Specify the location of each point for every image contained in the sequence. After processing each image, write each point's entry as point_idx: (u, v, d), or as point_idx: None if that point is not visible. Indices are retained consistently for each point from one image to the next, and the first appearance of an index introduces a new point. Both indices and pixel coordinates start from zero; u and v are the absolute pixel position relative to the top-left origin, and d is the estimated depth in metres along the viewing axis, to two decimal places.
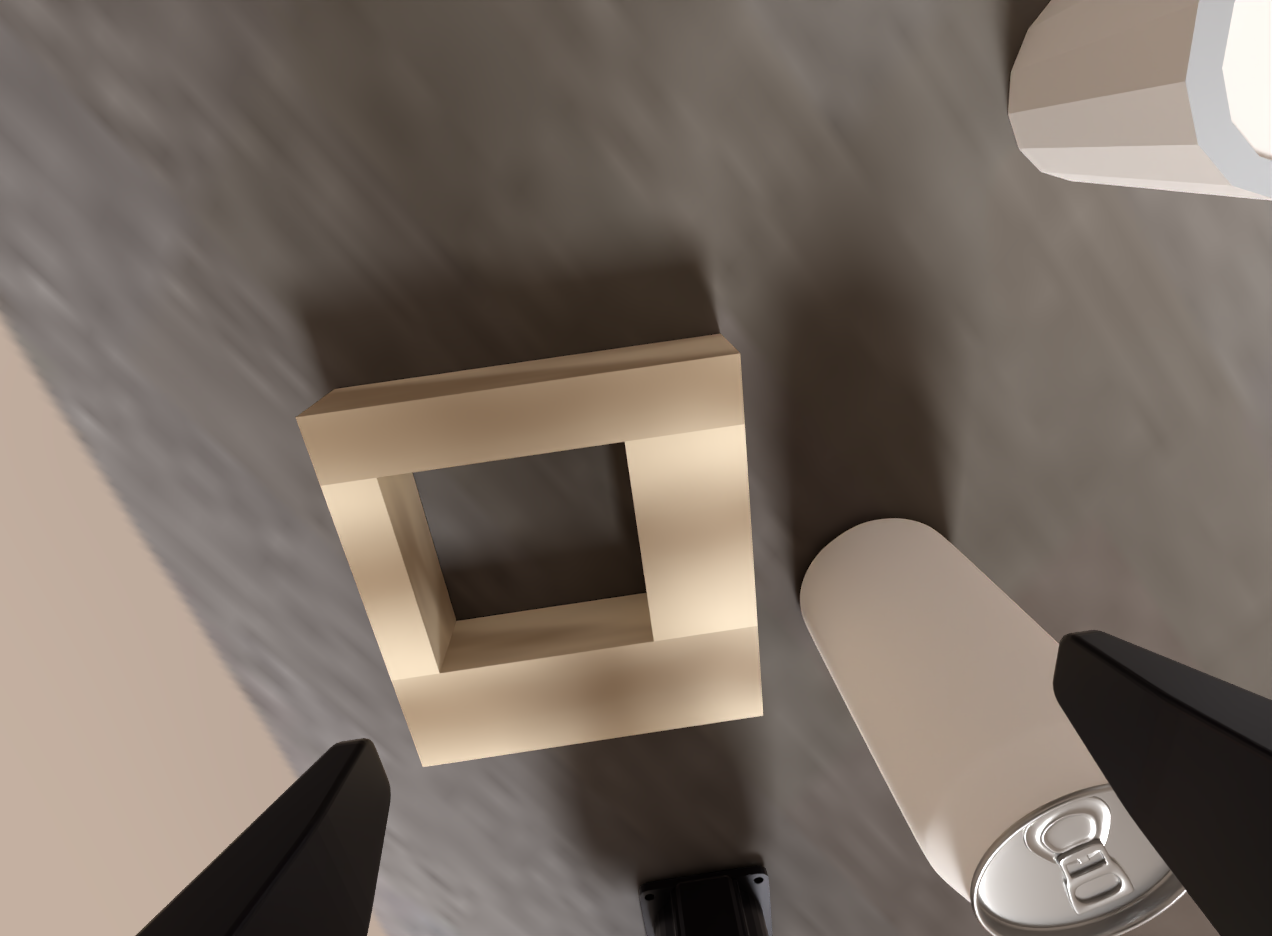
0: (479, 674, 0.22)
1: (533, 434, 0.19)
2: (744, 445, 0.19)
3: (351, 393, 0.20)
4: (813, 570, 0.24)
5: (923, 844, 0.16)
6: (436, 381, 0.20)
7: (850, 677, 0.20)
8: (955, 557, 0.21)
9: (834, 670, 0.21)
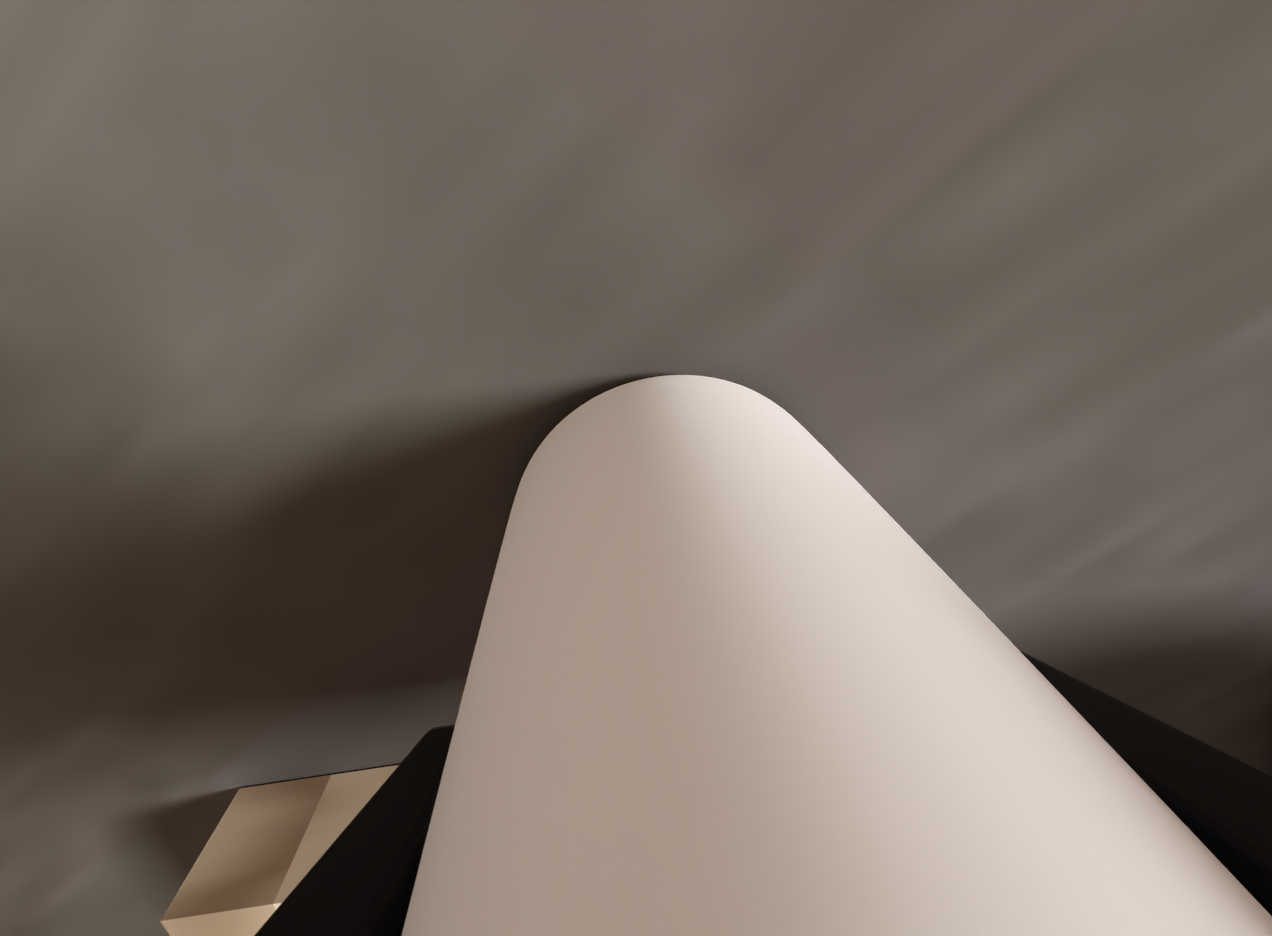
0: None
1: None
2: None
3: None
4: None
5: None
6: None
7: None
8: (497, 562, 0.09)
9: None
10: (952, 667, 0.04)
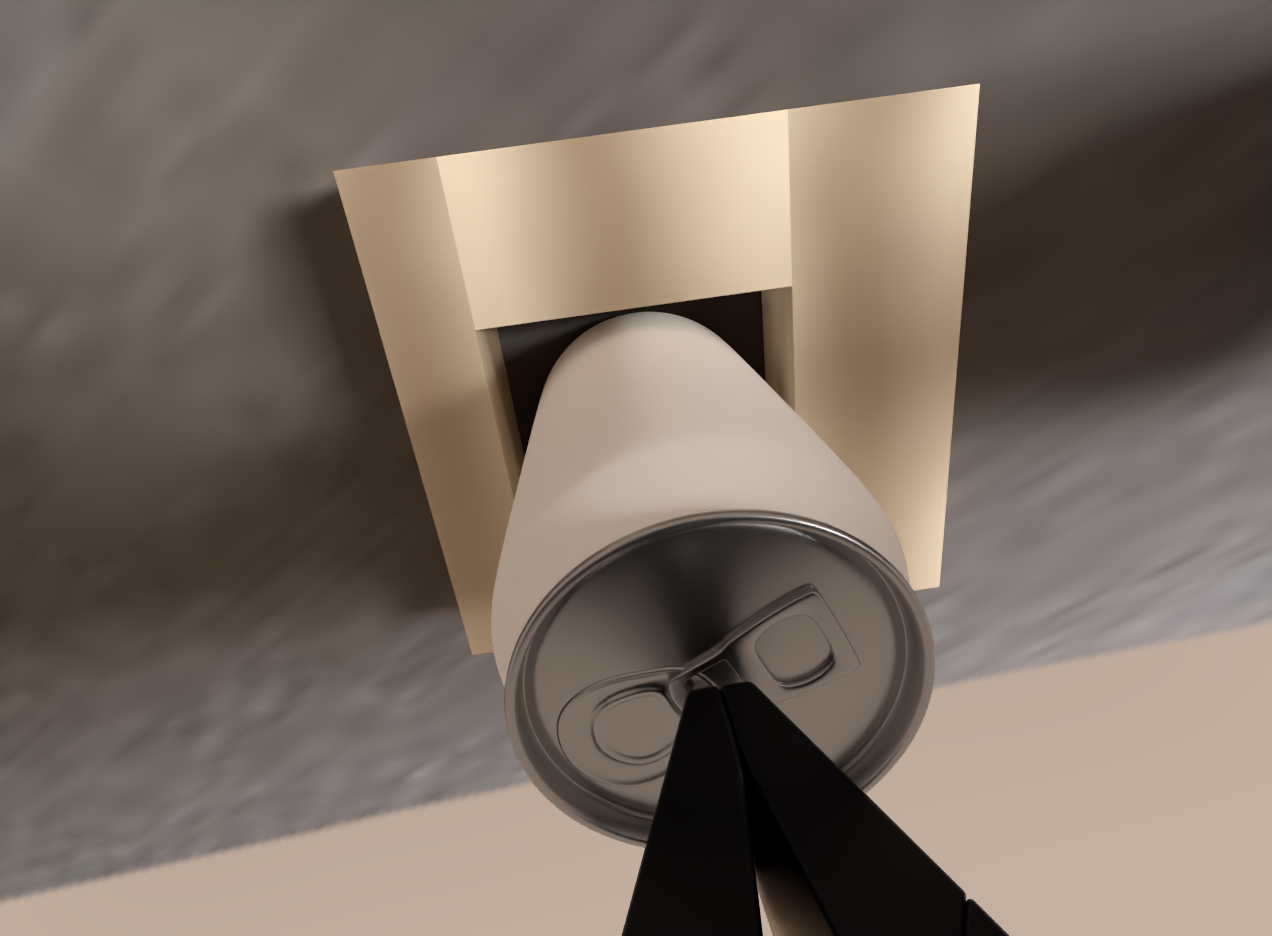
0: None
1: (473, 439, 0.16)
2: (469, 155, 0.13)
3: None
4: None
5: None
6: None
7: None
8: (535, 417, 0.16)
9: None
10: (740, 389, 0.10)
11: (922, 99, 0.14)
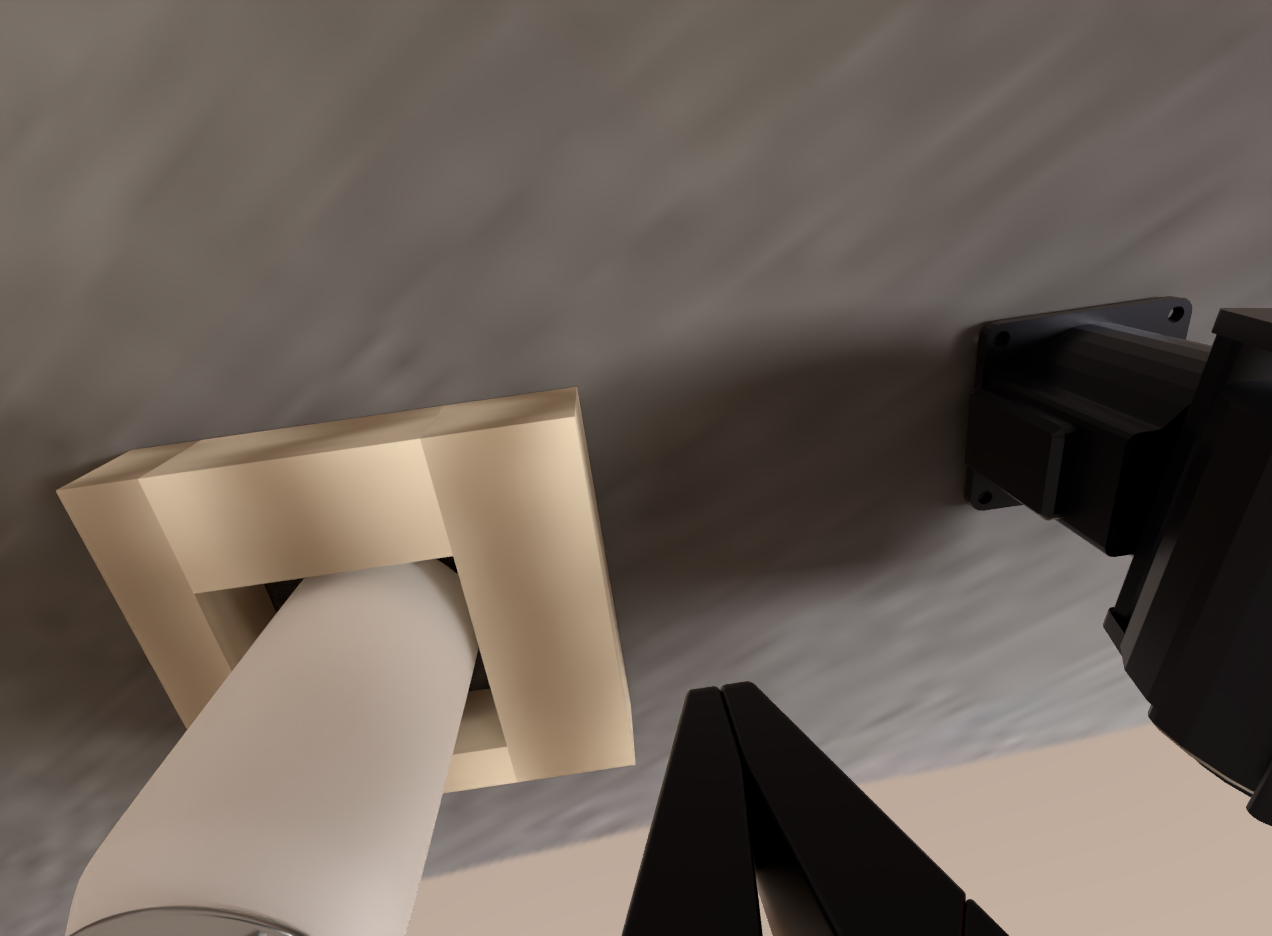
0: (506, 716, 0.21)
1: (208, 669, 0.19)
2: (164, 476, 0.17)
3: None
4: None
5: None
6: None
7: None
8: None
9: None
10: (306, 720, 0.14)
11: (529, 428, 0.17)
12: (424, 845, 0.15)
